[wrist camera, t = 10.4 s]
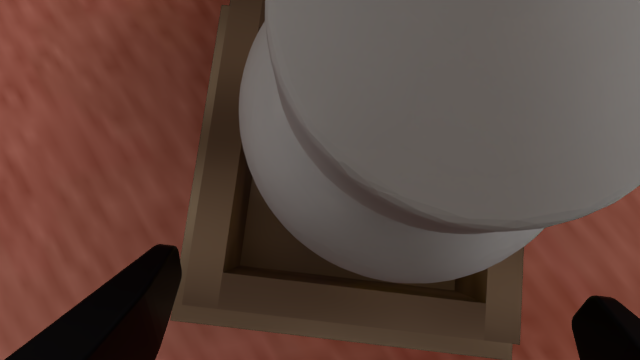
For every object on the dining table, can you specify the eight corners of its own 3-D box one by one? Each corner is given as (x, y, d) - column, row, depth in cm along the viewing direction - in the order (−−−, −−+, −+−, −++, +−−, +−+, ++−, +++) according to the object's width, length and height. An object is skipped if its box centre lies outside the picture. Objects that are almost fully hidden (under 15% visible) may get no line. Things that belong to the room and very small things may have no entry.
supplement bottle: (253, 147, 17) (50, -120, 4) (383, 74, 17) (571, -369, 4) (330, 284, 16) (383, 490, 3) (464, 204, 16) (966, 112, 4)
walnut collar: (502, 354, 16) (557, 390, 13) (177, 316, 17) (136, 340, 13) (516, 47, 18) (568, -1, 15) (225, 14, 18) (202, -42, 15)
